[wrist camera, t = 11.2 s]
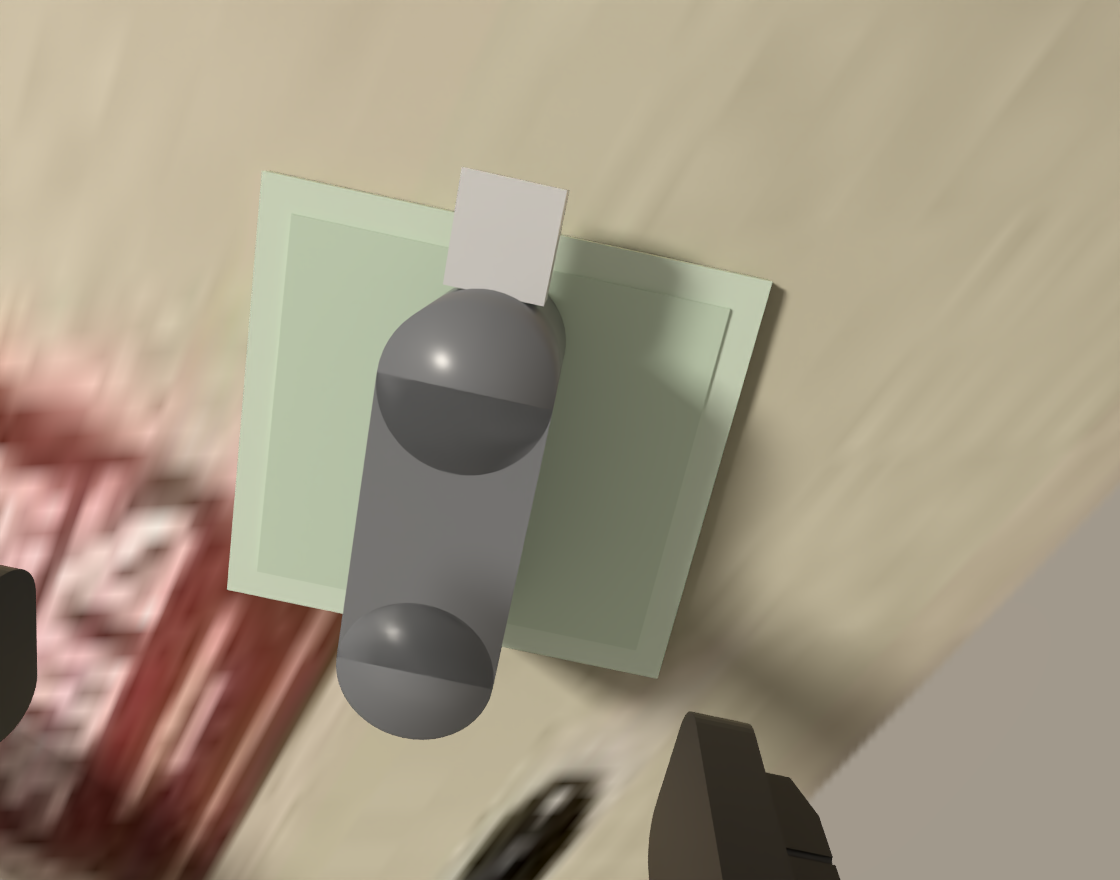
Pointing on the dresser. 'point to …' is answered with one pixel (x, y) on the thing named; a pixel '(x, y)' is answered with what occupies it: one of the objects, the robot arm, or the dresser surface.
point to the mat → (573, 437)
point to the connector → (454, 467)
